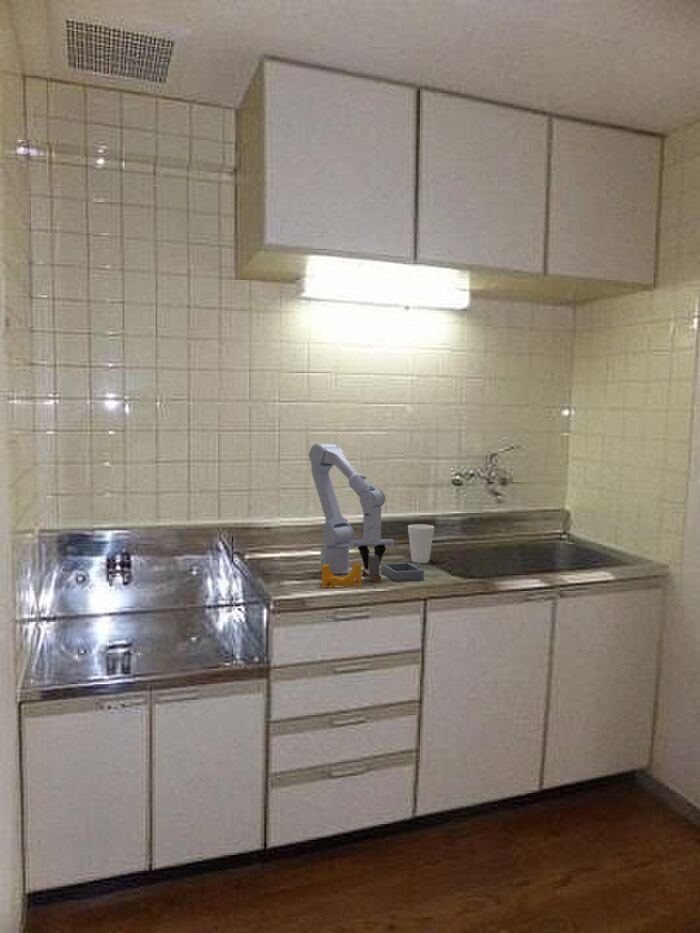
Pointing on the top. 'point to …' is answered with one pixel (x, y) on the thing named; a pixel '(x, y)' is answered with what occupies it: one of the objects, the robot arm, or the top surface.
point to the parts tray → (402, 571)
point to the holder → (372, 577)
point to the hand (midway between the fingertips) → (371, 568)
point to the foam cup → (420, 542)
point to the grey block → (372, 564)
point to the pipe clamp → (333, 581)
